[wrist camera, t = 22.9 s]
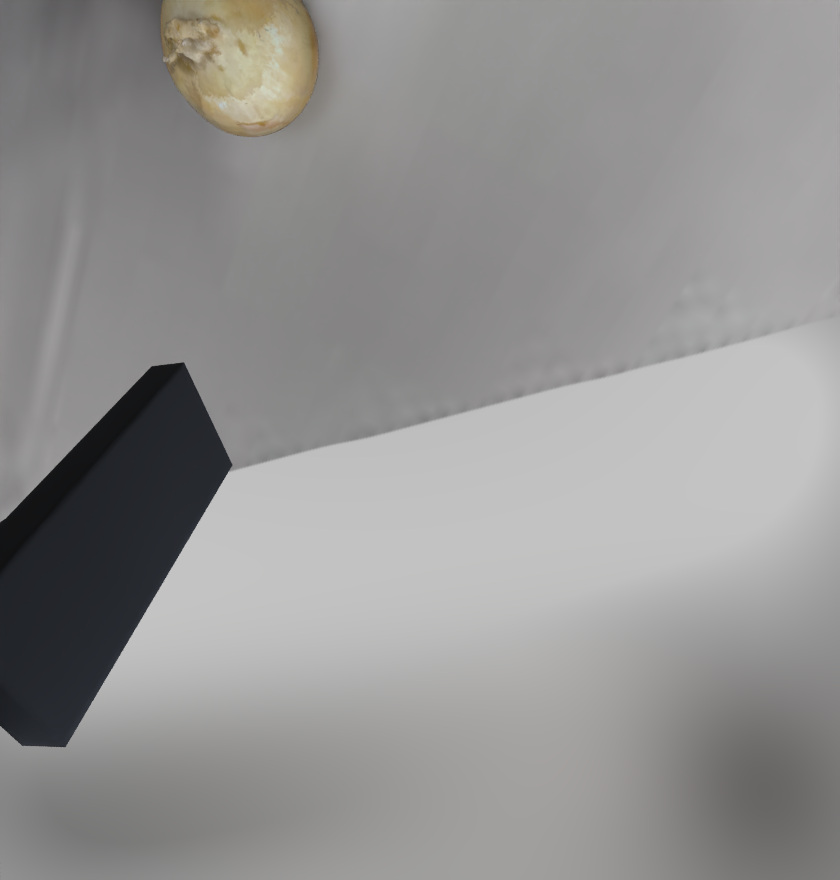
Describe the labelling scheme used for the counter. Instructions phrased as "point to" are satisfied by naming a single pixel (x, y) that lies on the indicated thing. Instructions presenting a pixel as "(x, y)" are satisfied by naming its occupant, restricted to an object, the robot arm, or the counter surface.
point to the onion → (241, 60)
